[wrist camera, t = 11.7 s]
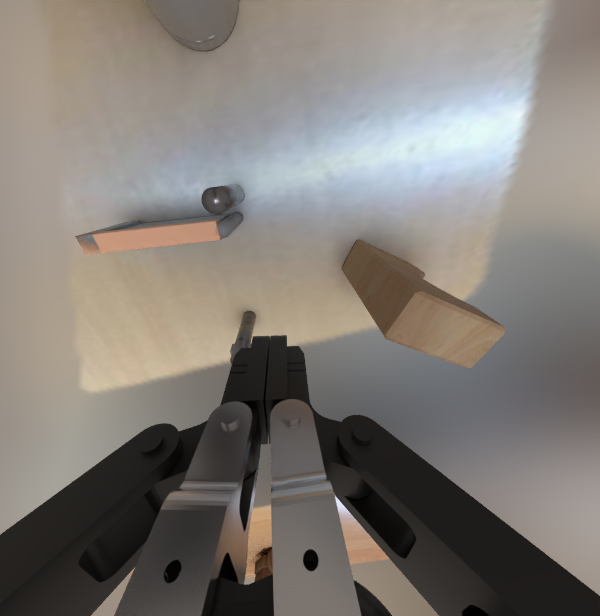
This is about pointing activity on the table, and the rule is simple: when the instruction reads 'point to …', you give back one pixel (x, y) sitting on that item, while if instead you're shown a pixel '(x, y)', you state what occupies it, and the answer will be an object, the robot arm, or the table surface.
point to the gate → (159, 233)
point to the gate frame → (217, 203)
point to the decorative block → (418, 308)
